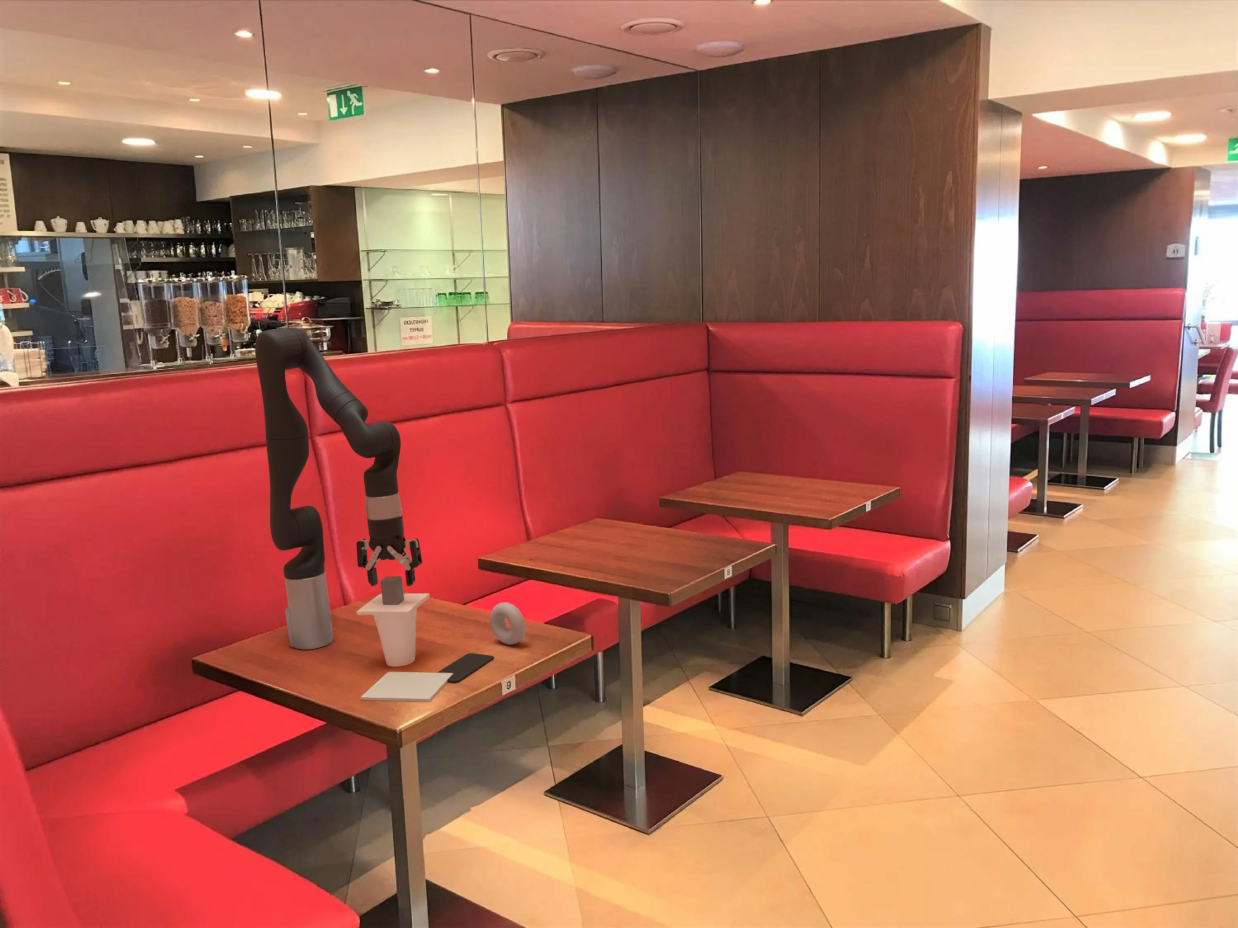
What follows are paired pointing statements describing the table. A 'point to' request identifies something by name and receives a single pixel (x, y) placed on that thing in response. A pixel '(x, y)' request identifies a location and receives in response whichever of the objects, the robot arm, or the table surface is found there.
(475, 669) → the phone
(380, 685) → the mat
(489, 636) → the table surface
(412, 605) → the lid
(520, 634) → the donut
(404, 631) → the foam cup
